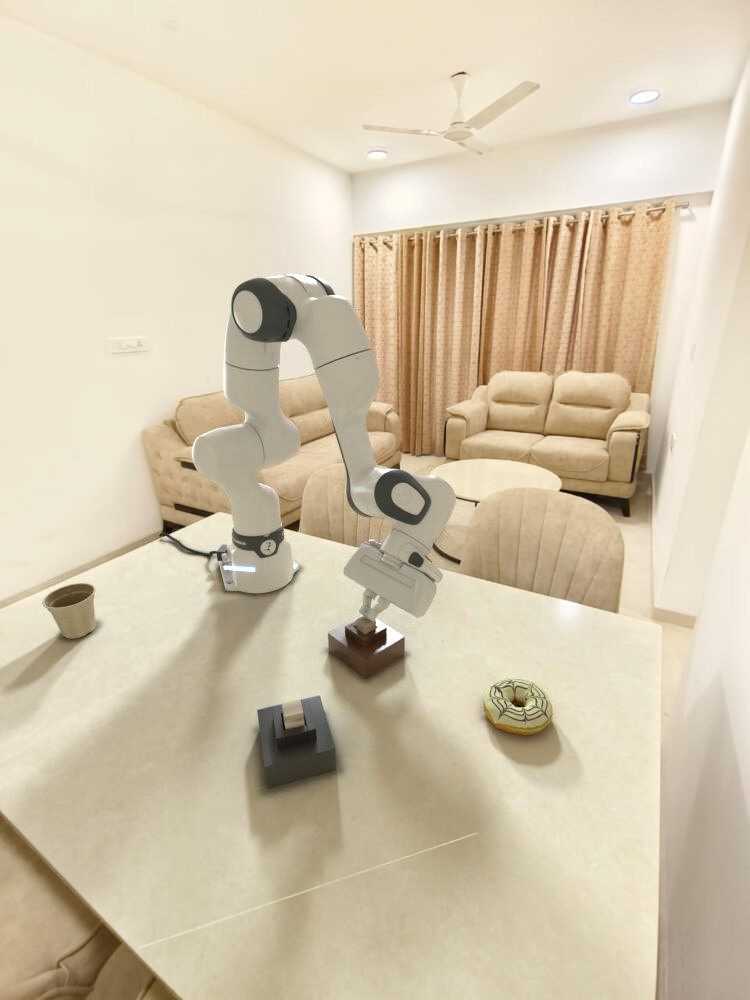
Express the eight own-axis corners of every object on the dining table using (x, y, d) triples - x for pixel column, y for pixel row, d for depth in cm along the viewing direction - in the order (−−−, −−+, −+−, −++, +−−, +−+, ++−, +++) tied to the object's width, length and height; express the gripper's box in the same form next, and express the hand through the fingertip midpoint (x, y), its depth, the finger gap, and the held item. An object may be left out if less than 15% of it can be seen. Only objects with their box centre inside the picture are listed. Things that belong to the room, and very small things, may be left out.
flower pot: (58, 651, 99) (47, 614, 95) (48, 629, 105) (38, 594, 102) (109, 631, 104) (100, 595, 101) (97, 612, 111) (88, 578, 108)
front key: (282, 716, 75) (281, 703, 74) (301, 712, 76) (300, 699, 75) (285, 730, 73) (284, 717, 72) (304, 726, 73) (303, 712, 72)
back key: (355, 631, 95) (355, 619, 94) (366, 625, 97) (366, 613, 96) (365, 637, 93) (365, 626, 92) (376, 631, 95) (376, 620, 94)
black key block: (259, 729, 80) (255, 700, 78) (321, 715, 83) (319, 686, 80) (267, 789, 70) (263, 757, 68) (336, 770, 73) (334, 739, 71)
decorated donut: (477, 691, 87) (478, 674, 86) (539, 691, 87) (541, 673, 86) (490, 740, 77) (491, 721, 76) (559, 739, 77) (562, 720, 76)
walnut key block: (328, 650, 98) (327, 625, 96) (366, 629, 104) (366, 604, 102) (365, 679, 90) (365, 652, 88) (404, 654, 96) (404, 628, 94)
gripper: (358, 530, 101) (322, 589, 99) (435, 566, 87) (395, 636, 85) (375, 543, 106) (340, 600, 103) (450, 579, 92) (412, 646, 89)
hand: (365, 616), depth 94 cm, fingers closed, pressing on back key
